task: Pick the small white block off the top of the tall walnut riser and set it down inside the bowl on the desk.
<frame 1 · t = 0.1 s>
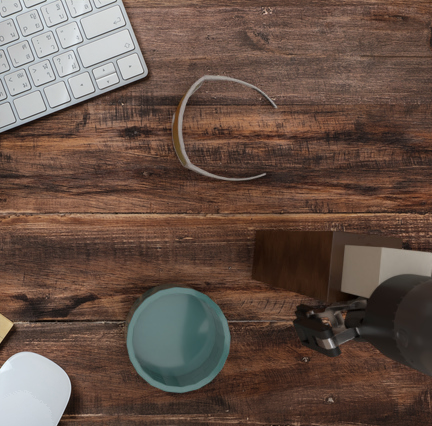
hand: (337, 298, 52), 16 cm above the table, tool pointing down, fingers open, 8 cm apart
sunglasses: (220, 132, 69), on the table
riser: (277, 257, 69), on the table
bowl: (172, 331, 68), on the table
block: (365, 270, 47), point 22 cm above the table, touching riser
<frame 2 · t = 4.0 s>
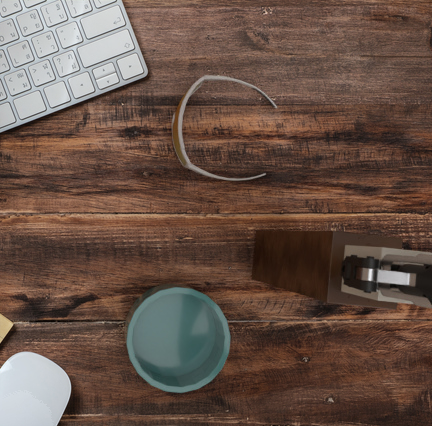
hand: (373, 271, 45), 23 cm above the table, tool pointing down, fingers closed on block, 4 cm apart
block: (365, 270, 47), point 22 cm above the table, touching gripper, riser
everything else where it was.
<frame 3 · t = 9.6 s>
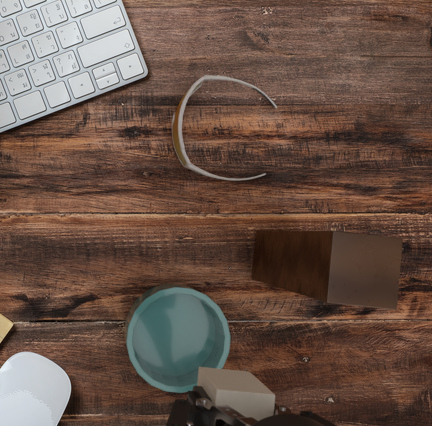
hand: (226, 400, 41), 27 cm above the table, tool pointing down, fingers closed on block, 4 cm apart
block: (221, 394, 42), point 26 cm above the table, touching gripper
everything else where it was.
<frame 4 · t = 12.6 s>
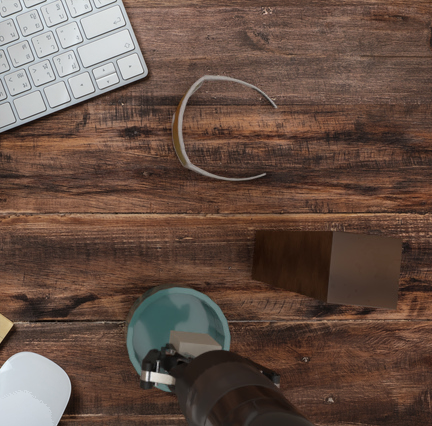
hand: (189, 354, 55), 12 cm above the table, tool pointing down, fingers closed on block, 4 cm apart
block: (187, 351, 57), point 11 cm above the table, touching gripper
everything else where it was.
when the fingers open (4 cm above the table, at t = 15.1 s): block drops 2 cm, resting on bowl.
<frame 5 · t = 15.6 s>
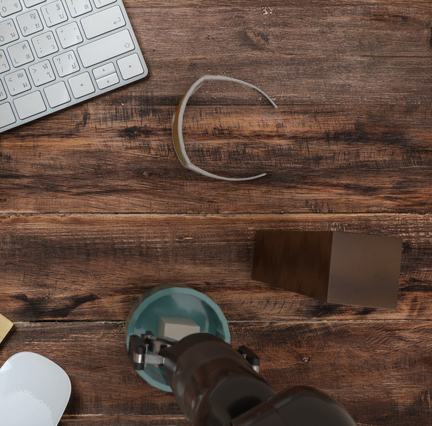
hand: (180, 341, 62), 6 cm above the table, tool pointing down, fingers open, 8 cm apart
block: (173, 332, 67), point 1 cm above the table, touching bowl
everything else where it was.
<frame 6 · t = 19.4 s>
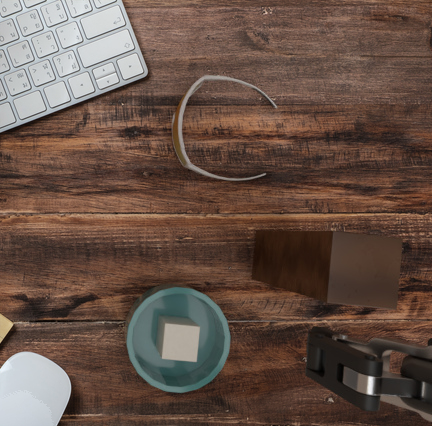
hand: (373, 346, 34), 34 cm above the table, tool pointing down, fingers open, 8 cm apart
nothing on the table moved.
at the end: block inside the target area in the bowl (0.0 cm from its centre), point 0.6 cm above the bowl's base; the gripper is holding nothing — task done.
